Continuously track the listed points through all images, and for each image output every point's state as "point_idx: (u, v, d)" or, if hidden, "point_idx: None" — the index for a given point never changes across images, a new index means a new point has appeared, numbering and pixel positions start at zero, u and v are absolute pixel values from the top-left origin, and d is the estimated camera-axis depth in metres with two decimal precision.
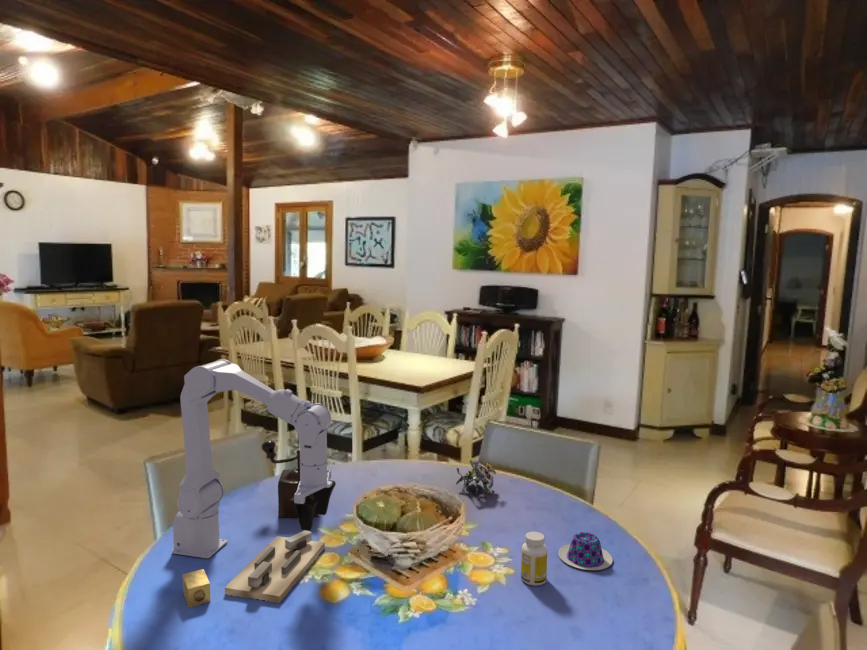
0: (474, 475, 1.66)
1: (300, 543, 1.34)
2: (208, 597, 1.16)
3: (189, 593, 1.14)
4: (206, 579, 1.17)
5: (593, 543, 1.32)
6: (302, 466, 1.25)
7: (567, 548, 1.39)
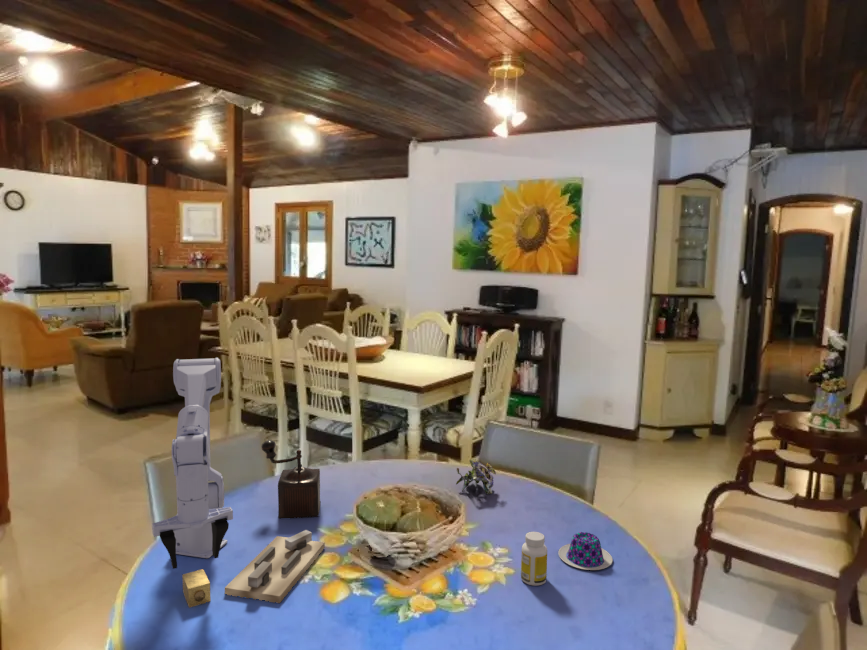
0: (474, 475, 1.66)
1: (300, 543, 1.34)
2: (208, 597, 1.16)
3: (189, 593, 1.14)
4: (206, 579, 1.17)
5: (593, 543, 1.32)
6: None
7: (567, 548, 1.39)
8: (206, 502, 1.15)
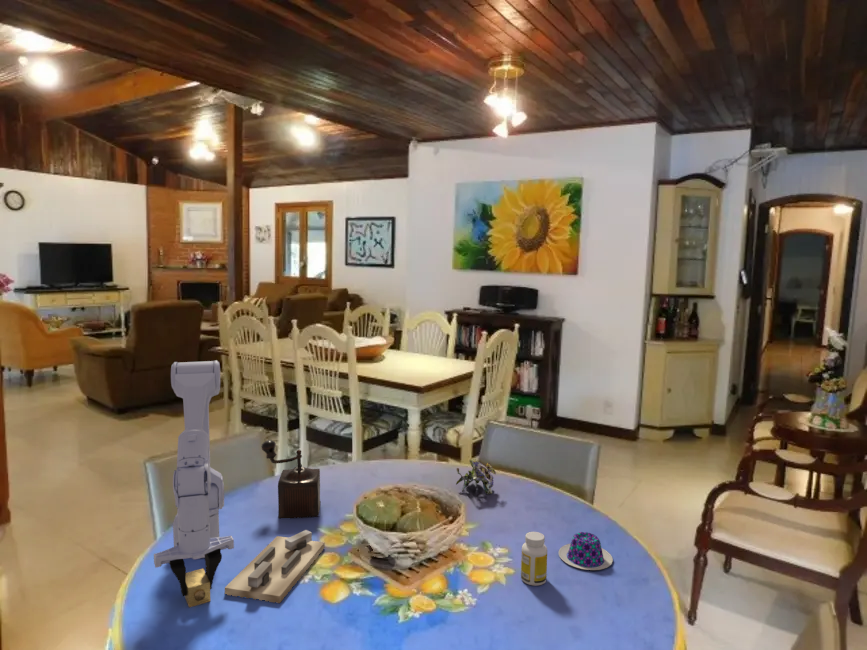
0: (474, 475, 1.66)
1: (300, 543, 1.34)
2: (208, 596, 1.16)
3: (189, 592, 1.14)
4: (206, 578, 1.17)
5: (593, 543, 1.32)
6: None
7: (567, 548, 1.39)
8: (207, 532, 1.16)
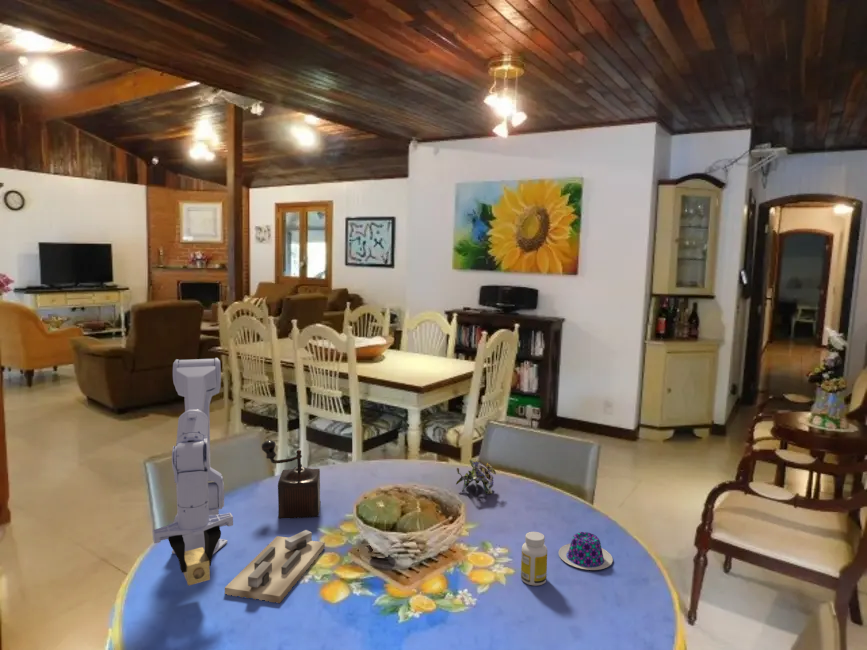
0: (474, 475, 1.66)
1: (300, 543, 1.34)
2: (207, 575, 1.15)
3: (188, 570, 1.13)
4: (205, 557, 1.16)
5: (593, 543, 1.32)
6: None
7: (567, 548, 1.39)
8: (206, 509, 1.15)
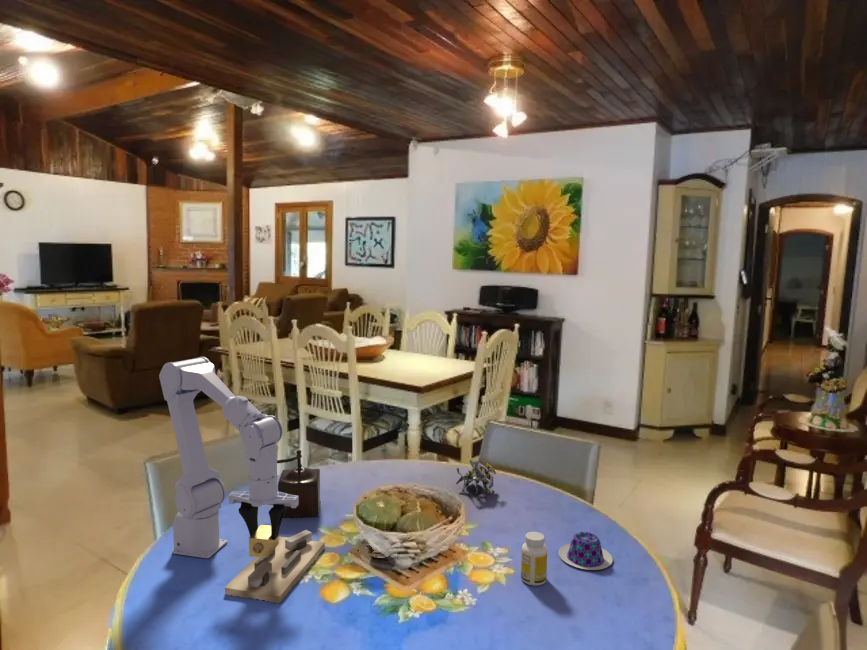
0: (474, 475, 1.66)
1: (300, 543, 1.34)
2: (266, 552, 1.22)
3: (249, 542, 1.22)
4: (269, 535, 1.23)
5: (593, 543, 1.32)
6: None
7: (567, 548, 1.39)
8: (269, 485, 1.21)
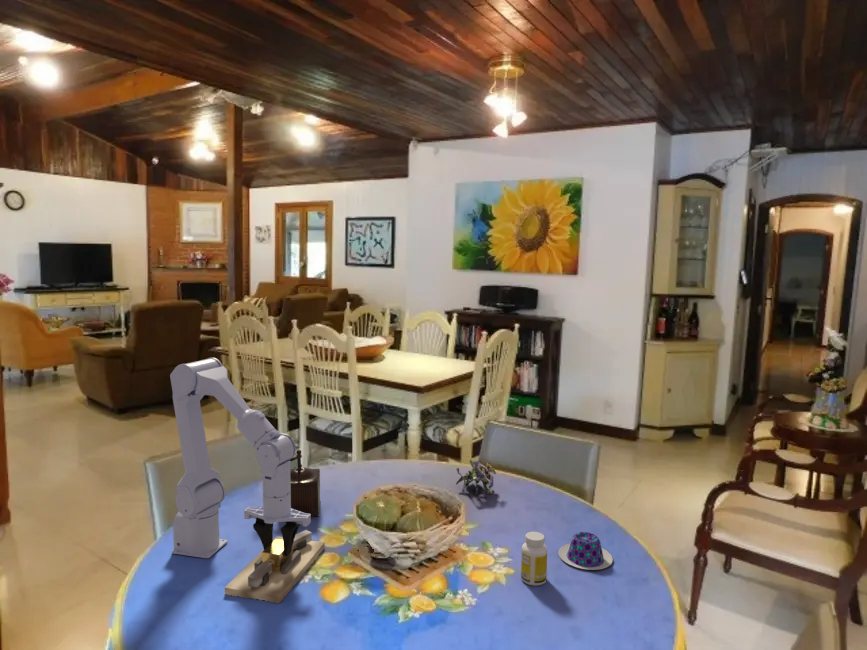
0: (474, 475, 1.66)
1: (300, 543, 1.34)
2: (278, 567, 1.24)
3: (263, 556, 1.25)
4: (281, 550, 1.25)
5: (593, 543, 1.32)
6: None
7: (567, 548, 1.39)
8: (282, 502, 1.24)
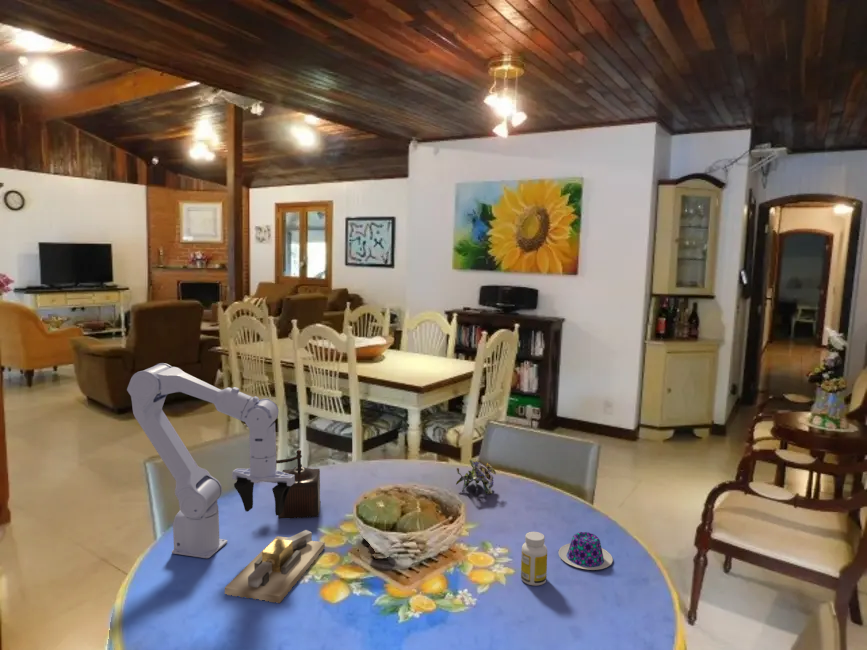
0: (474, 475, 1.66)
1: (300, 543, 1.34)
2: (278, 567, 1.24)
3: (263, 556, 1.25)
4: (281, 550, 1.25)
5: (594, 542, 1.32)
6: None
7: (566, 548, 1.39)
8: (267, 463, 1.31)
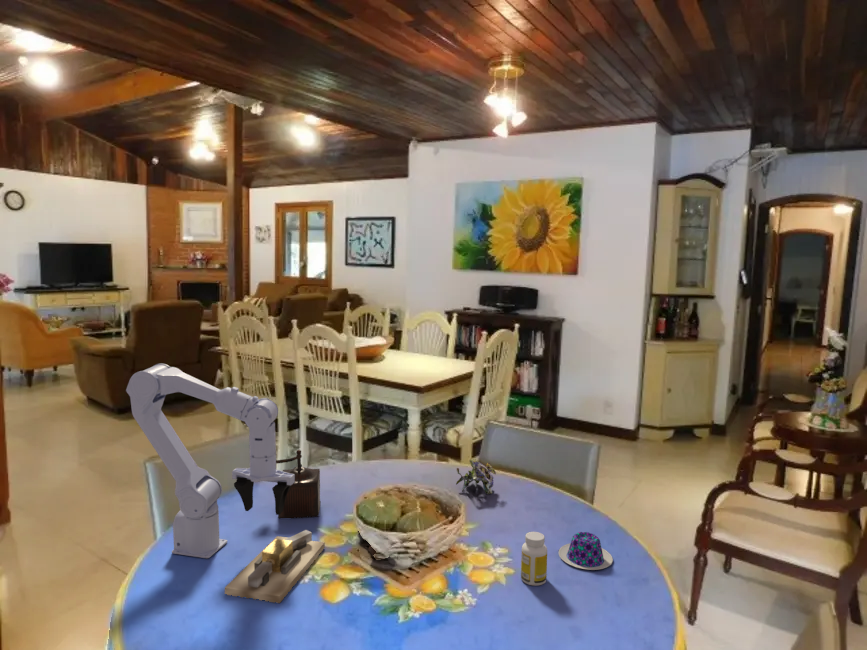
0: (474, 475, 1.66)
1: (300, 543, 1.34)
2: (278, 567, 1.24)
3: (263, 556, 1.25)
4: (281, 550, 1.25)
5: (594, 542, 1.32)
6: None
7: (566, 549, 1.38)
8: (267, 462, 1.31)
